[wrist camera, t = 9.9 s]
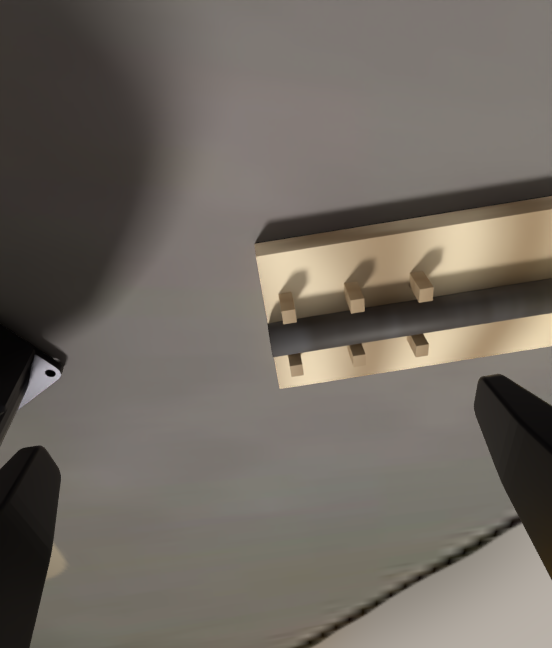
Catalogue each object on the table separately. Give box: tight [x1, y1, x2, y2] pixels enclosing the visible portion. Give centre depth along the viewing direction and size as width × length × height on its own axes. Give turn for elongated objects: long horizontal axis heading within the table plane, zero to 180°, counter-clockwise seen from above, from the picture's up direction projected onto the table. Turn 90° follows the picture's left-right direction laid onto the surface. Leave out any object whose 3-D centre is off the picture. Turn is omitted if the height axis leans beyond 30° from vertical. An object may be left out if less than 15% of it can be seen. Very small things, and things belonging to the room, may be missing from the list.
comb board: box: [255, 196, 552, 389], centre depth 22 cm, size 22×8×4 cm, turn 98°
